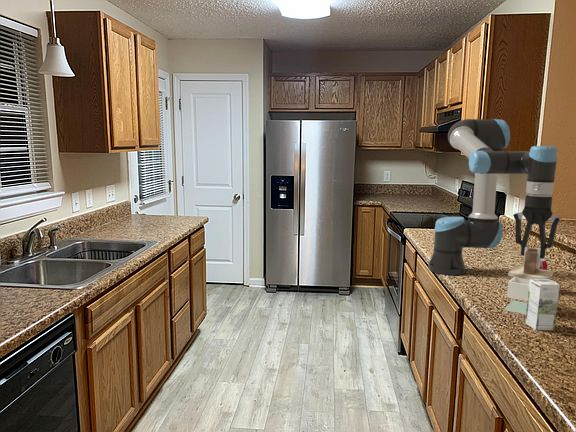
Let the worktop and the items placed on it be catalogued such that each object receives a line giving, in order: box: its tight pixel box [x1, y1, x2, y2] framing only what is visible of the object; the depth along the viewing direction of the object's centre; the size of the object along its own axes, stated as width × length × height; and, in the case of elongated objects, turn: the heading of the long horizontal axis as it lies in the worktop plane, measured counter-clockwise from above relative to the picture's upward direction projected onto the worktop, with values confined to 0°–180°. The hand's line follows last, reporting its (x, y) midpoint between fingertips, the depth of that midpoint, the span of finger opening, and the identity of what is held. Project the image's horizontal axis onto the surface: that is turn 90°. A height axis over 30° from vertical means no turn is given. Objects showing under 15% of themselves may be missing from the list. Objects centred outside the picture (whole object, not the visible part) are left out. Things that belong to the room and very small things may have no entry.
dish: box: [506, 277, 530, 302], centre depth 160 cm, size 9×9×6 cm
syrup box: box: [524, 278, 561, 331], centre depth 132 cm, size 6×6×14 cm
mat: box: [503, 299, 527, 316], centre depth 148 cm, size 12×12×1 cm
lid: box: [507, 247, 554, 280], centre depth 146 cm, size 11×11×8 cm
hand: (531, 266), depth 146 cm, fingers closed on lid, 3 cm apart
